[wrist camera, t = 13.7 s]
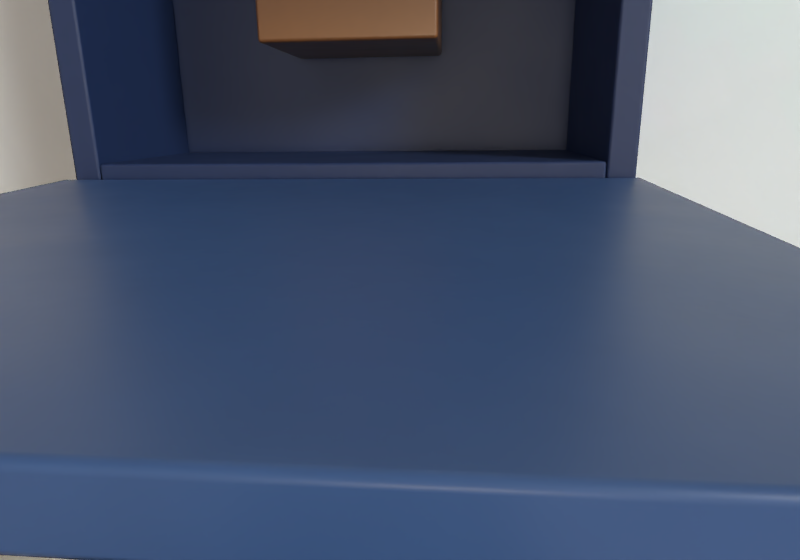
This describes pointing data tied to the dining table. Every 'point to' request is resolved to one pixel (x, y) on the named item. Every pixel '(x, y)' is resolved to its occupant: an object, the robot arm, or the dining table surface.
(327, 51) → the block
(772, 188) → the dining table surface
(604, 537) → the case lid
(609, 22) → the case
